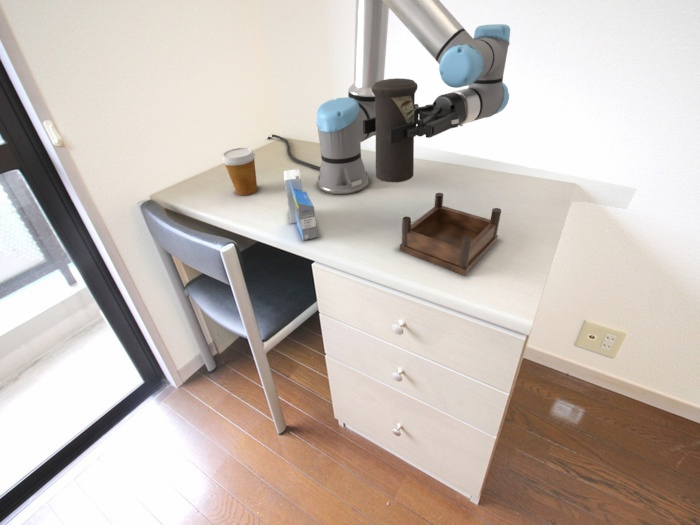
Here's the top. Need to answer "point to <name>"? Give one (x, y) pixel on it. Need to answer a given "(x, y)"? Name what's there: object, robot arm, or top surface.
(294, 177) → the cosmetic box
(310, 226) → the tape cartridge
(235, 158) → the disposable coffee cup
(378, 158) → the container
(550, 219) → the top surface
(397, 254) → the top surface
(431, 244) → the wooden tray
